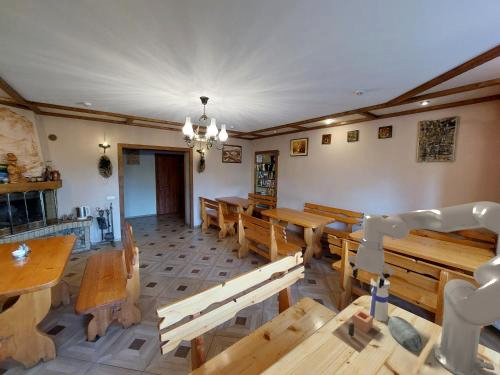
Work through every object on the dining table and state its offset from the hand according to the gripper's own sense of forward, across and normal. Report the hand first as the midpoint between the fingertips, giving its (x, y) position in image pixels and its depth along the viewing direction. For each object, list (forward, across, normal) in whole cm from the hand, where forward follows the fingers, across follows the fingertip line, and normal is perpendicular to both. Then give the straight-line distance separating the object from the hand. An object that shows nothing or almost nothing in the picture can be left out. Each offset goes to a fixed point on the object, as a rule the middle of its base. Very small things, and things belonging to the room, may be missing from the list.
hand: (367, 282), depth 91 cm
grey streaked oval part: (+23, +14, +6) cm, 28 cm away
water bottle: (+23, +4, +14) cm, 28 cm away
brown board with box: (+23, -1, -3) cm, 24 cm away
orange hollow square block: (+22, 0, +2) cm, 22 cm away
